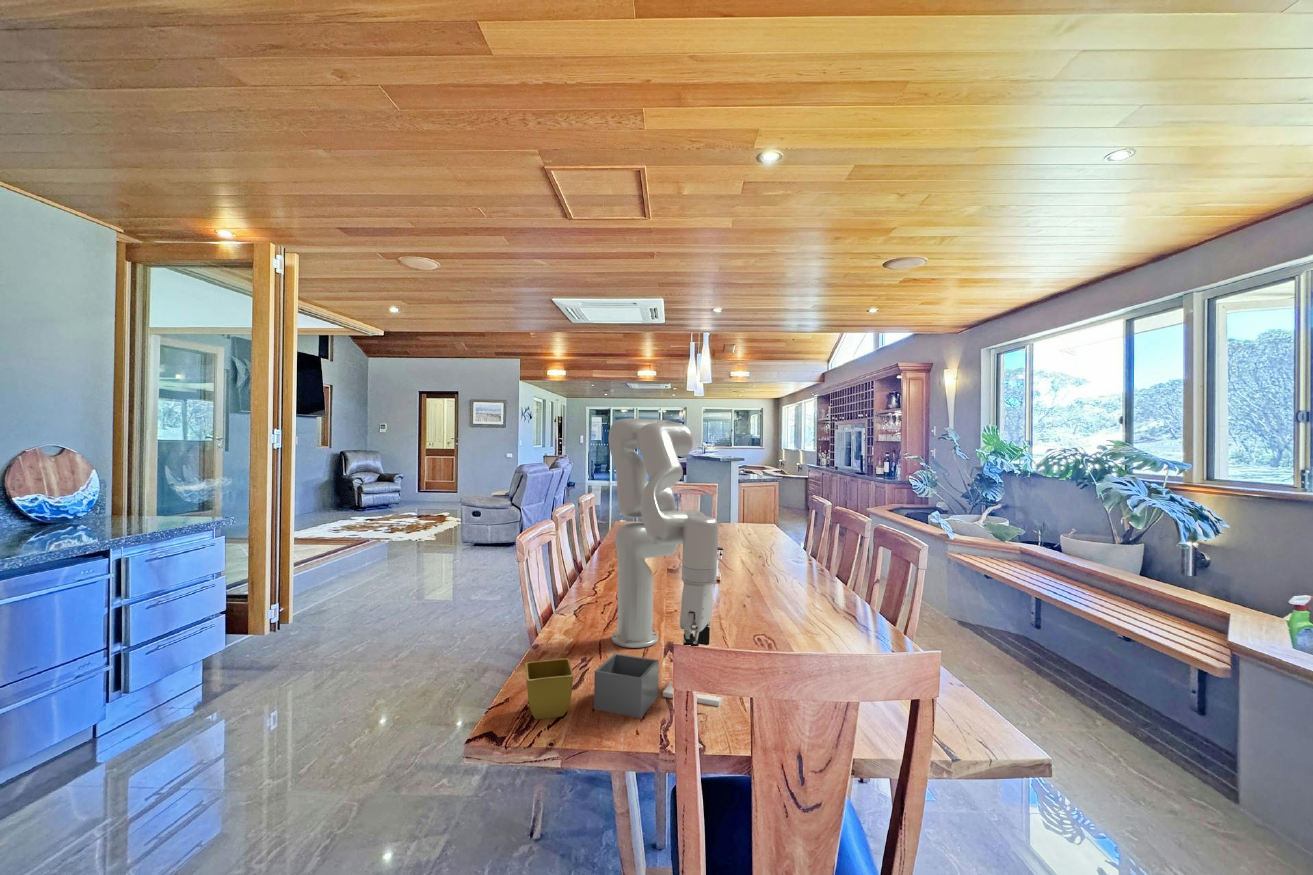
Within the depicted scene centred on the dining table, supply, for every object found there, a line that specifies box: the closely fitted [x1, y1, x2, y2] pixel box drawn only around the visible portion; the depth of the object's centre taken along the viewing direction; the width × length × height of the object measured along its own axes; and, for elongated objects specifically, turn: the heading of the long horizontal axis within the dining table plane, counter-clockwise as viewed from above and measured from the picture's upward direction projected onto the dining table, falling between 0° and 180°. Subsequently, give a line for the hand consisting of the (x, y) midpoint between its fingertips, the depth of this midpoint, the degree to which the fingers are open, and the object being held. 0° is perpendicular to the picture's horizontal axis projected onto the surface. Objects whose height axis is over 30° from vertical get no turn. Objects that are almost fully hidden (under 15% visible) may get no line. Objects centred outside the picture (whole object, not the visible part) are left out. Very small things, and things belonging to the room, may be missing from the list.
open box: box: [593, 653, 660, 719], centre depth 112 cm, size 10×10×8 cm
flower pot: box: [524, 657, 574, 720], centre depth 107 cm, size 9×9×9 cm
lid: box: [662, 681, 724, 707], centre depth 118 cm, size 12×12×6 cm
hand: (696, 652), depth 119 cm, fingers open, 9 cm apart
